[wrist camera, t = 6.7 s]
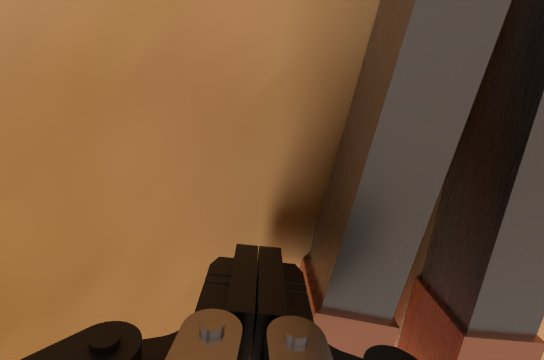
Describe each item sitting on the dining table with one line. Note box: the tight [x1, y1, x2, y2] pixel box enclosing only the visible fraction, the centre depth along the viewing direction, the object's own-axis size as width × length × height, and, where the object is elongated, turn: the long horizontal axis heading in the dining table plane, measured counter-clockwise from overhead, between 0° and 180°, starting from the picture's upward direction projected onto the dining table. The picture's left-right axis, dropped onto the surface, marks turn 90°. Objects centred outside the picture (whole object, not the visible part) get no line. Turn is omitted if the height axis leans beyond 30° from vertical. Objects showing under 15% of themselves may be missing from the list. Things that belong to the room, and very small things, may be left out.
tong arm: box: [300, 0, 512, 358], centre depth 10 cm, size 16×3×3 cm, turn 167°
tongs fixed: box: [398, 0, 544, 360], centre depth 9 cm, size 21×5×4 cm, turn 174°
